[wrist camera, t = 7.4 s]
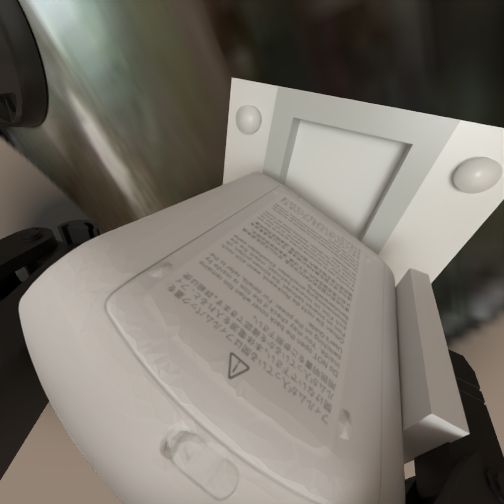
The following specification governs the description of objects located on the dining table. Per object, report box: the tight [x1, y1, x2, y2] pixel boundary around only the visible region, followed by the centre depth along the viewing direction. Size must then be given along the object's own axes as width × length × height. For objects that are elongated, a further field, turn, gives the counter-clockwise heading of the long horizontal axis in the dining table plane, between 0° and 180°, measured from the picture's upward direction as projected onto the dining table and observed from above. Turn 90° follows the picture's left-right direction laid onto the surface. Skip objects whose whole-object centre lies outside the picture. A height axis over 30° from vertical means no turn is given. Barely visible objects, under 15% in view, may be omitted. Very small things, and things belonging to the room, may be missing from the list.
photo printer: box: [19, 172, 405, 504], centre depth 9 cm, size 10×4×12 cm, turn 62°
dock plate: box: [223, 78, 504, 287], centre depth 16 cm, size 16×14×2 cm
